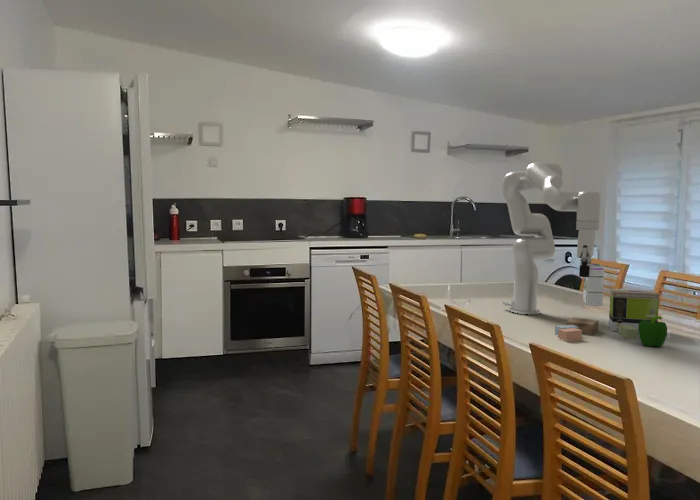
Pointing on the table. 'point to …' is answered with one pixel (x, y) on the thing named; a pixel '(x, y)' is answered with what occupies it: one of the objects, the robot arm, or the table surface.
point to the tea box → (632, 307)
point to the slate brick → (564, 327)
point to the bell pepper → (652, 332)
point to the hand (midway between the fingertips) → (585, 275)
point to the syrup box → (594, 285)
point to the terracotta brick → (570, 334)
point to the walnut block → (584, 325)
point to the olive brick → (628, 331)
